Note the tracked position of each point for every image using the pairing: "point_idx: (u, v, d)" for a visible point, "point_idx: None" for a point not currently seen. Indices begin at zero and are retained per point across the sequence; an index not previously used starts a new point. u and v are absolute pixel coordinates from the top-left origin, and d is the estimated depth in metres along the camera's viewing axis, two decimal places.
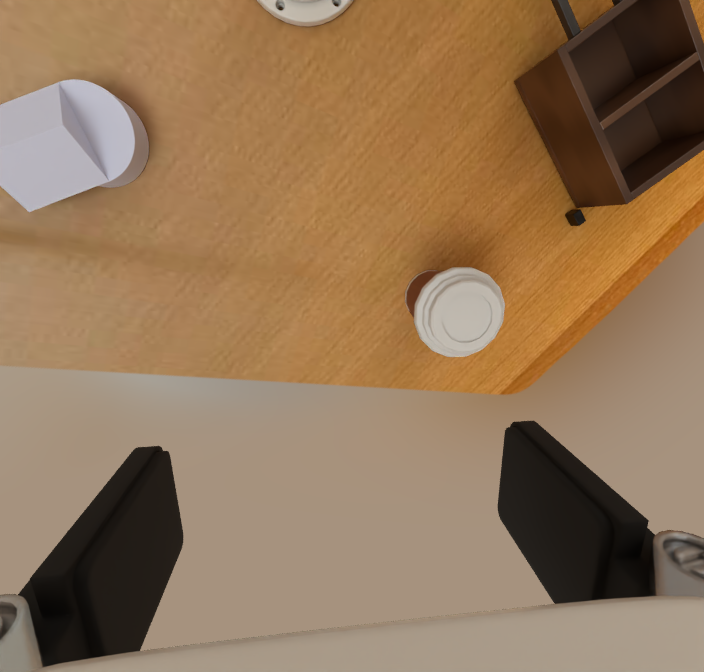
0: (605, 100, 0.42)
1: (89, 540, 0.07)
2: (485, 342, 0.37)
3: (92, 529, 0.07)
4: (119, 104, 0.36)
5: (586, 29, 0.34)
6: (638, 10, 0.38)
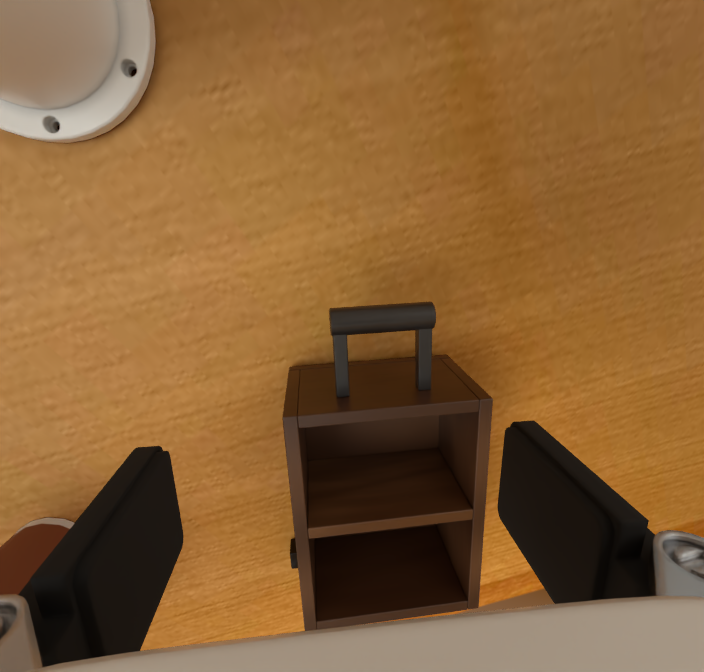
0: (390, 451, 0.31)
1: (90, 539, 0.07)
2: None
3: (92, 529, 0.07)
4: None
5: (336, 414, 0.21)
6: None
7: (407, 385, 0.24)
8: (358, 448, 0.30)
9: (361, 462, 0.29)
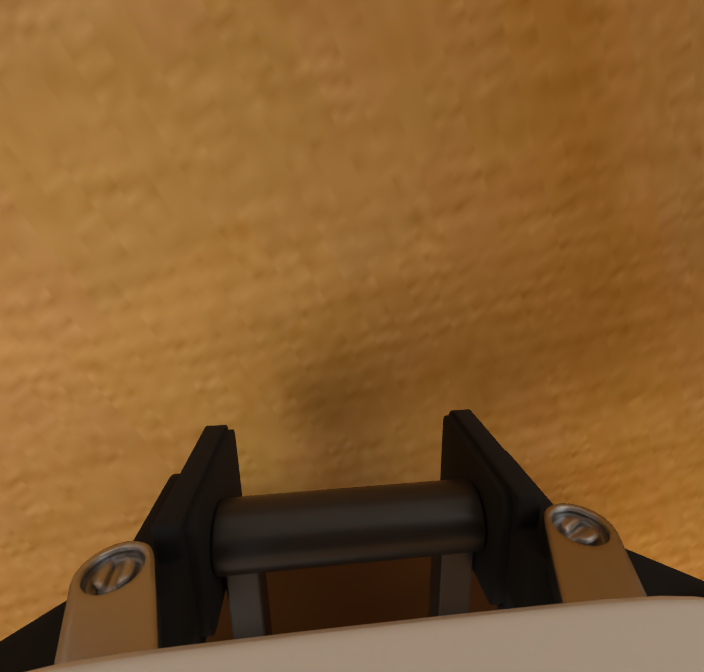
0: None
1: (191, 498, 0.08)
2: None
3: (190, 490, 0.08)
4: None
5: None
6: None
7: None
8: None
9: None
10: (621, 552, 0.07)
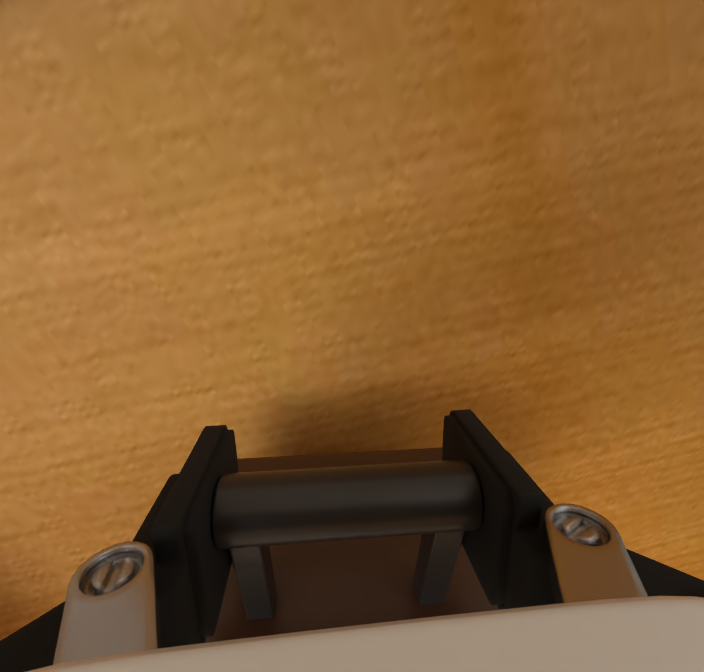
0: None
1: (191, 499, 0.08)
2: None
3: (190, 491, 0.08)
4: None
5: None
6: None
7: (397, 574, 0.12)
8: None
9: None
10: (622, 552, 0.07)
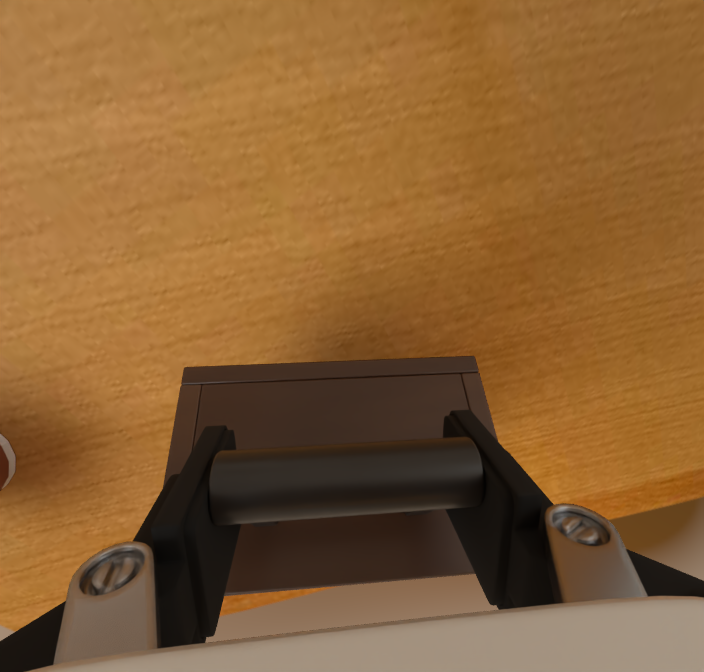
0: None
1: (191, 498, 0.08)
2: None
3: (190, 491, 0.08)
4: None
5: (246, 593, 0.12)
6: None
7: None
8: None
9: None
10: (622, 552, 0.07)
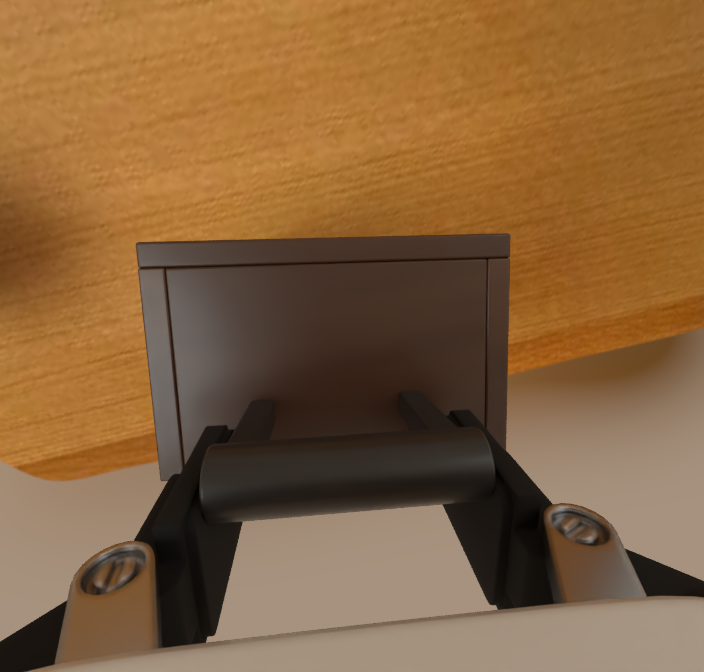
0: None
1: (192, 498, 0.08)
2: None
3: (191, 490, 0.08)
4: None
5: None
6: None
7: (385, 388, 0.13)
8: None
9: None
10: (621, 552, 0.07)
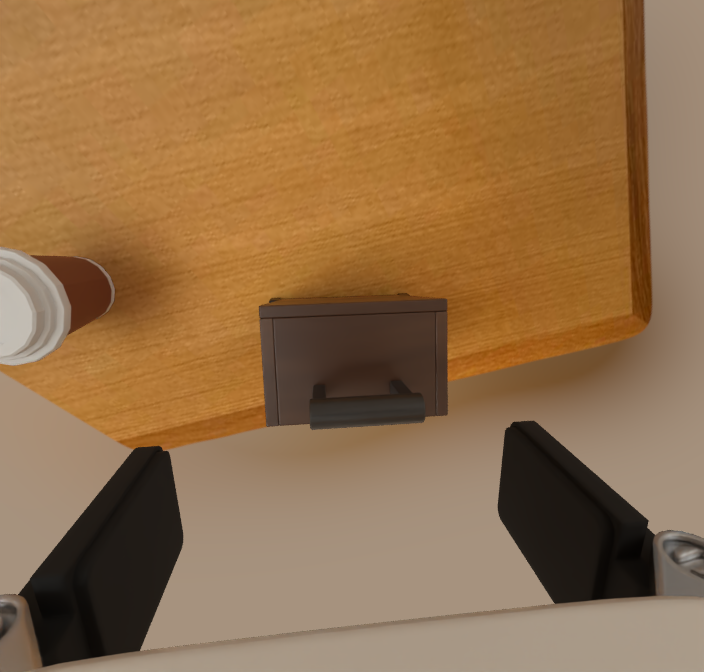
0: None
1: (90, 539, 0.07)
2: None
3: (92, 529, 0.07)
4: None
5: None
6: None
7: (382, 379, 0.25)
8: None
9: None
10: None
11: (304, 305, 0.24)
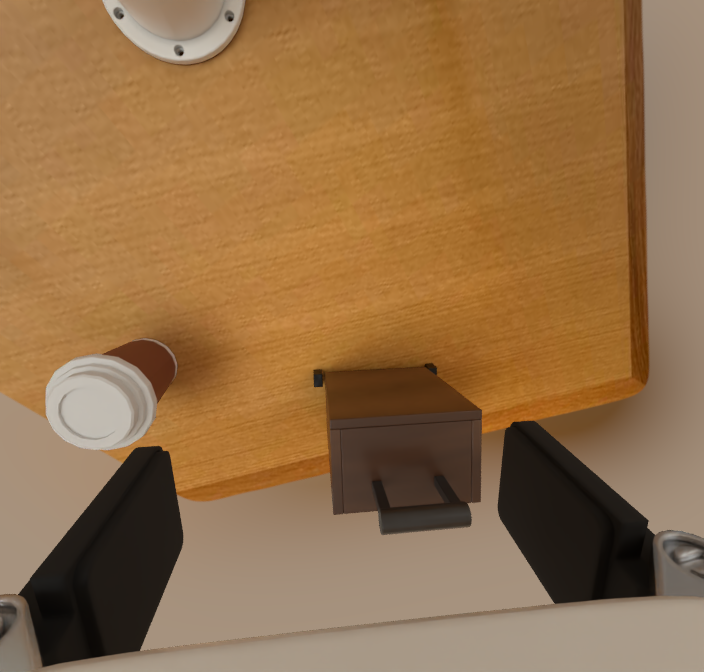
0: None
1: (89, 540, 0.07)
2: (99, 447, 0.33)
3: (92, 529, 0.07)
4: None
5: (370, 510, 0.31)
6: None
7: (428, 474, 0.31)
8: None
9: None
10: None
11: (366, 418, 0.29)
